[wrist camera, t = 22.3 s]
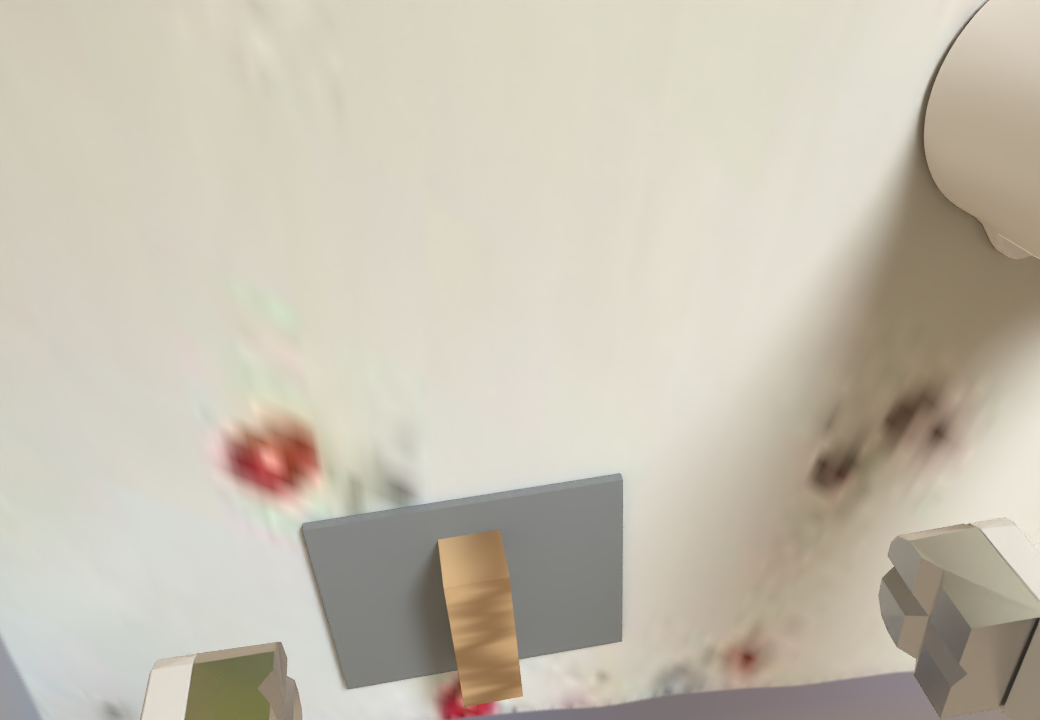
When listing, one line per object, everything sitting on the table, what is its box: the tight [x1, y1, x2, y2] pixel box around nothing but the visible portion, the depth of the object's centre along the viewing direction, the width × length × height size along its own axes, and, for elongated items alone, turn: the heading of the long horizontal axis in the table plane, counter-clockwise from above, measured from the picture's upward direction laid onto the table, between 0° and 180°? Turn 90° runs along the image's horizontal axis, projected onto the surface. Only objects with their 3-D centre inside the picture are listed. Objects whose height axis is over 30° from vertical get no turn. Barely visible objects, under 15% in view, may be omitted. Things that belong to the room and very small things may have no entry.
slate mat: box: [302, 474, 623, 689], centre depth 61 cm, size 20×16×1 cm
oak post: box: [438, 530, 523, 707], centre depth 60 cm, size 4×4×12 cm
